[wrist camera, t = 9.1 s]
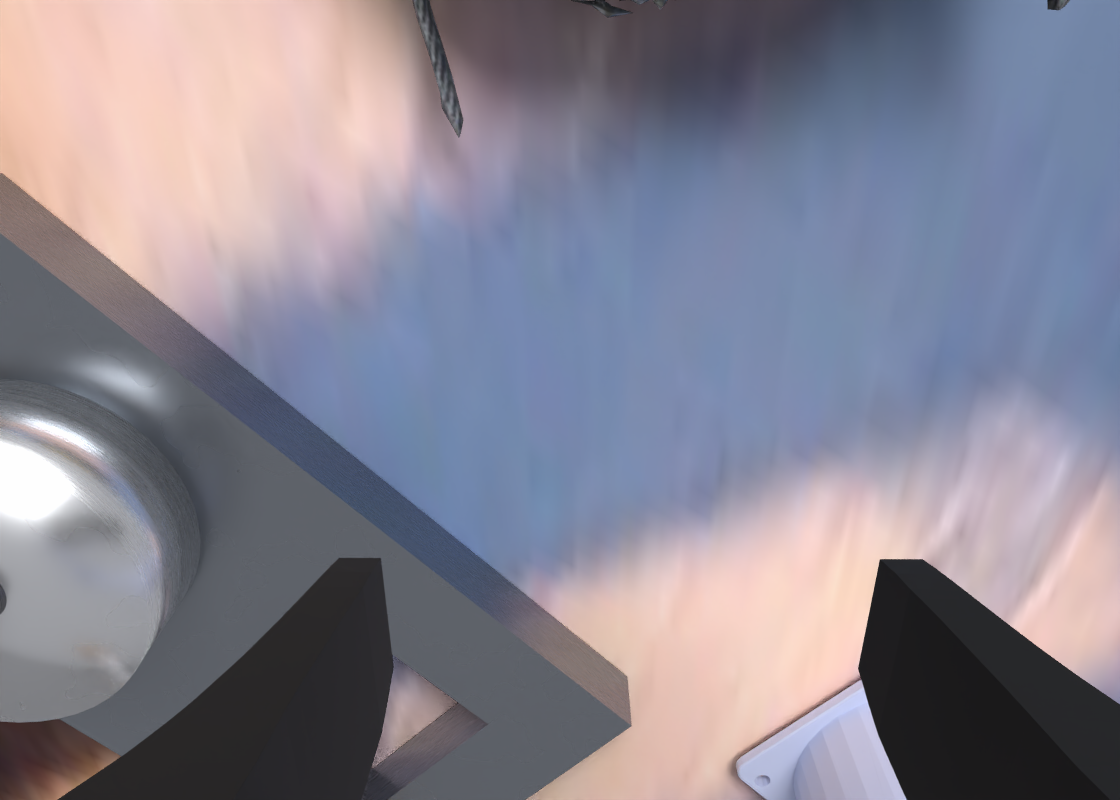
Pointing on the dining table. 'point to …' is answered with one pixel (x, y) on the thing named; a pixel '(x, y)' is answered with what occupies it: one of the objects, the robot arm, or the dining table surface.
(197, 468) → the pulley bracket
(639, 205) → the dining table surface
